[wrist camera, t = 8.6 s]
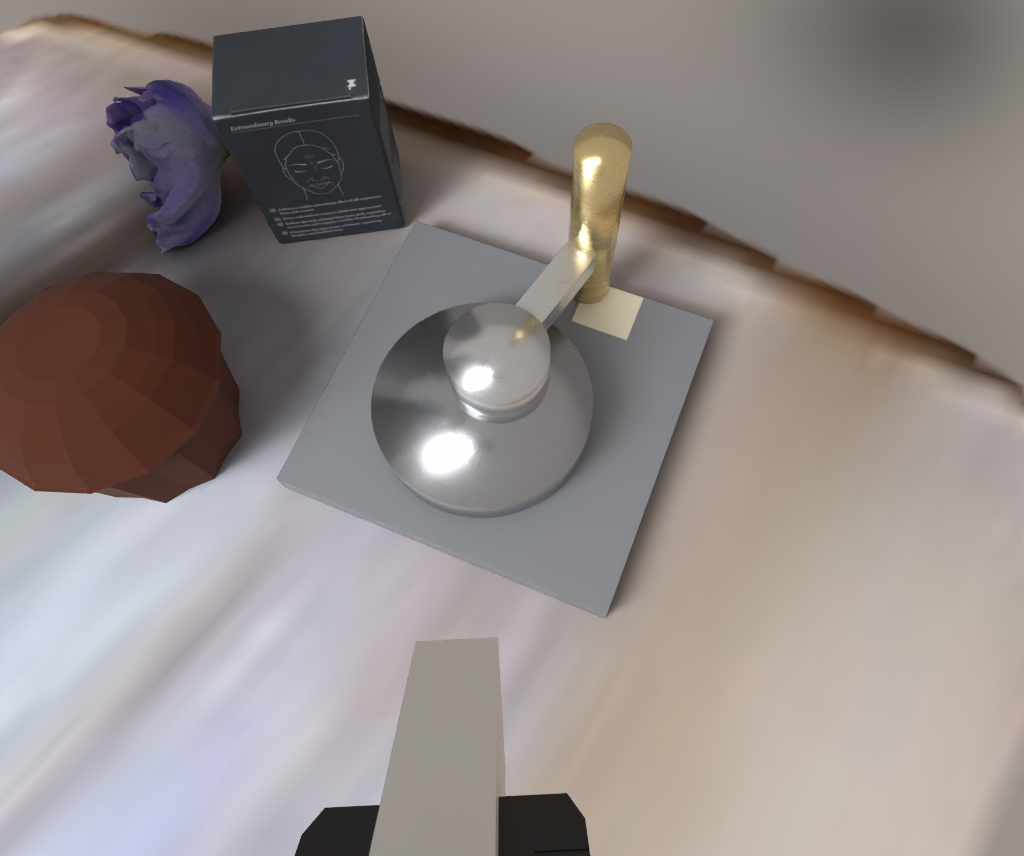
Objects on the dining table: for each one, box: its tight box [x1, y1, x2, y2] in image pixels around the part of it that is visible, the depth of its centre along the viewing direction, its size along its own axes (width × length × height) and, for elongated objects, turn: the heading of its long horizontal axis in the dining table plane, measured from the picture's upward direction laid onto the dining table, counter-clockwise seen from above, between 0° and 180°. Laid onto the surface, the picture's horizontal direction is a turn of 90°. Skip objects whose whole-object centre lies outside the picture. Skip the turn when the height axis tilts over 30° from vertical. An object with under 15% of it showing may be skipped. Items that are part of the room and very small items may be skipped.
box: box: [211, 16, 405, 244], centre depth 43 cm, size 8×6×11 cm
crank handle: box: [371, 123, 632, 518], centre depth 36 cm, size 16×11×11 cm
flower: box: [106, 80, 230, 253], centre depth 45 cm, size 9×9×10 cm
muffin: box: [0, 272, 242, 503], centre depth 38 cm, size 12×11×10 cm
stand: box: [276, 221, 714, 618], centre depth 42 cm, size 18×17×2 cm
